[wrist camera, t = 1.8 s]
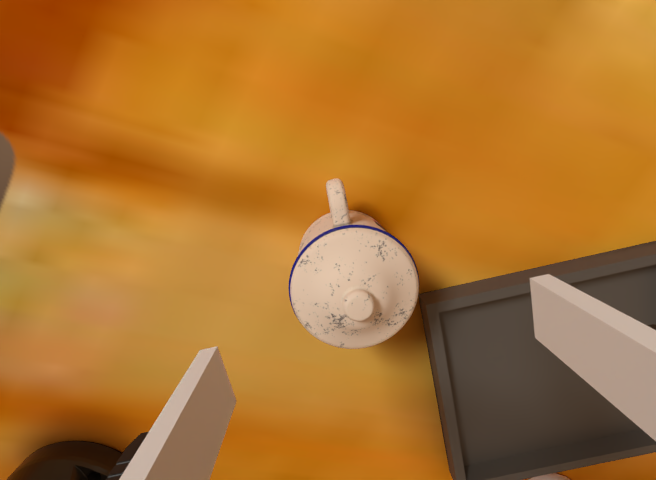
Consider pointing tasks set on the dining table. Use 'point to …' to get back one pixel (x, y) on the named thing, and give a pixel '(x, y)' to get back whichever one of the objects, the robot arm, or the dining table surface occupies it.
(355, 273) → the teacup with lid
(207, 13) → the dining table surface
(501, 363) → the serving tray
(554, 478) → the bottle
